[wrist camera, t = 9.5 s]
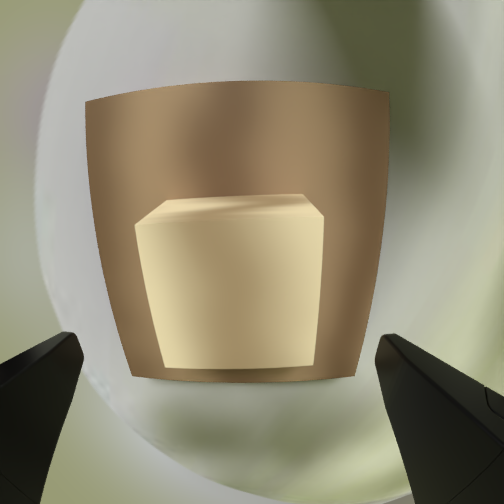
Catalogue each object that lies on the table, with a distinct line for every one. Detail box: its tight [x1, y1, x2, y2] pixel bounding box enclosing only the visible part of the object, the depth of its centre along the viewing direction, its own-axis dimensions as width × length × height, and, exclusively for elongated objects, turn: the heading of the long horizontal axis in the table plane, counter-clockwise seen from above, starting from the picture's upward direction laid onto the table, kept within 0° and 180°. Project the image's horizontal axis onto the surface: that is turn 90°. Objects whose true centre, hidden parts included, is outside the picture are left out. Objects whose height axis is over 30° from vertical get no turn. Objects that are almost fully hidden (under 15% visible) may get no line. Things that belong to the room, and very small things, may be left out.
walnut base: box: [85, 81, 390, 383], centre depth 15 cm, size 14×16×3 cm
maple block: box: [135, 194, 324, 369], centre depth 12 cm, size 6×6×4 cm
